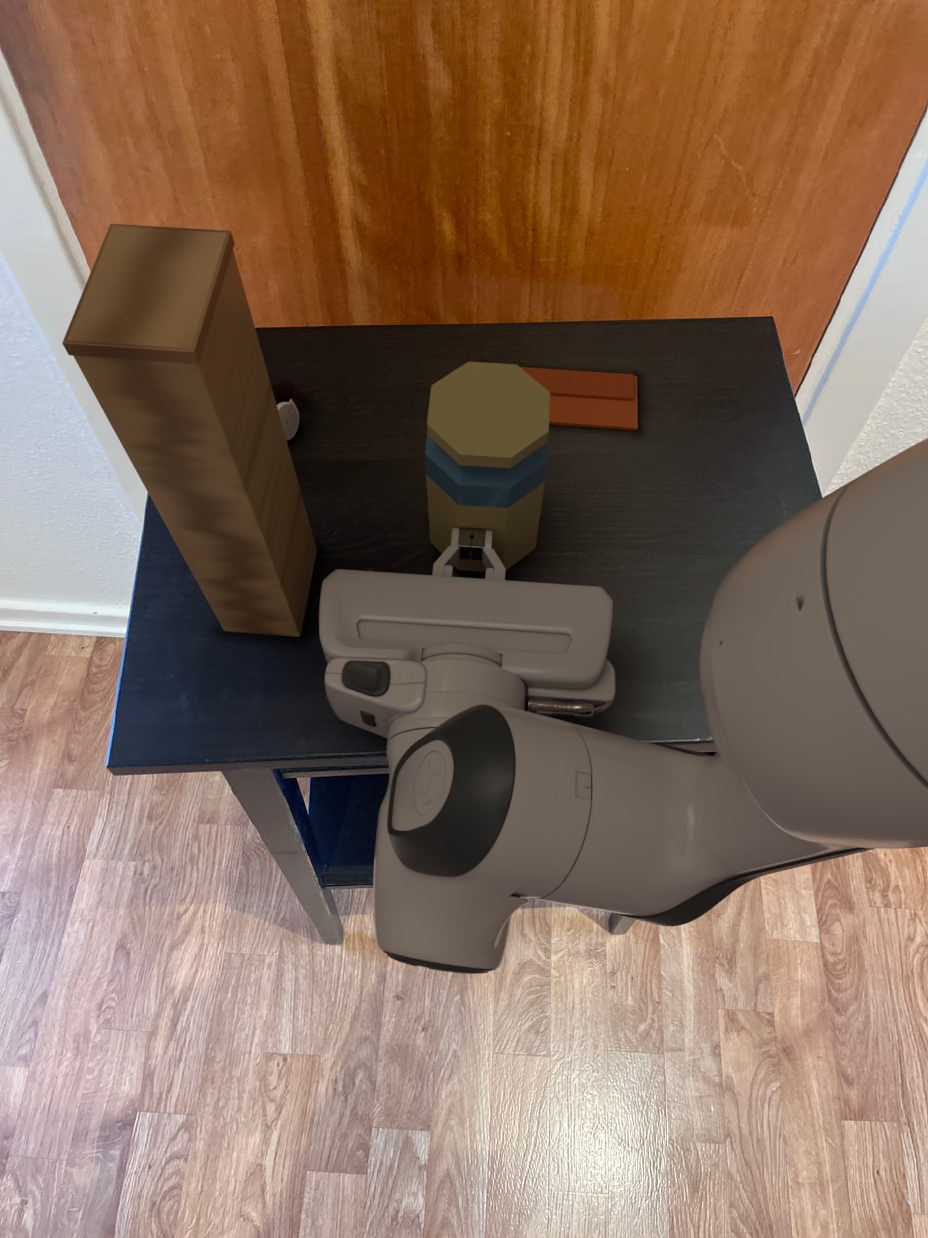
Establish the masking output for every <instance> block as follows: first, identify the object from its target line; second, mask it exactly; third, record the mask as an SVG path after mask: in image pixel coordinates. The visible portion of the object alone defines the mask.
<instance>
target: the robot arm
mask: <svg viewBox="0 0 928 1238" xmlns="http://www.w3.org/2000/svg"><path fill="white" fill-rule="evenodd" d="M492 535H493V530H486V529H473V534H472V529H466V528H453V529H452V538H451V546H448V548H447V549H446V550H445V551H444V552H443V553H441V555H439V557H438V558H437V559H436V560H435V562H433V564H432V574H417V573H405V572H404V573H402V572H389V571H374V570H373V571H372V570H359V569H345V568H336V569H334V570H333V571H332V572H331V573H329V574H328V575H327V576H326V577H325V578H324V579H323V580H322V583H321V586H320V587H321V588H320V596H319V605H318V606H319V607H318V632H319V633H318V634H319V636H318V637H319V641H320V645H321V648H322V651H323V655H324V658H325V661H326V664H327V665H326V668H325V672H324V690H325V694H326V698H327V700H328V704H329V706H330V707H331V709H332V711H333V713H334V714H335V715H336V717H337V718H338V719H339V720H340V721H343V722H344V723H347V724H349V725H351V726H354V727H357V728H359V729H362V730H364V731H367V732H369V733H372V734H375V735H377V736H379V737H382V738H385V739H387V741H386V760H387V765H388V784H387V788H386V792H385V794H384V797H383V799H382V802H381V804H380V807H379V809H378V815H377V825H376V826H377V827H376V832H375V833H376V834H375V845H374V857H373V859H374V860H373V876H372V877H373V880H372V909H373V910H372V911H373V912H372V913H373V927H374V937H375V943H376V946H377V948H378V949H379V950H380V951H382V952H383V953H384V954H385V955H386V956H387V957H388V958H390V959H392V960H394V961H396V962H399V963H402V964H405V965H408V966H412V967H422V968H427V969H429V970H433V971H439V972H446V973H454V974H463V975H465V974H466V975H479V974H487V973H489V972H493V971H495V970H497V969H499V968H500V967H501V965H502V963H503V960H504V957H505V953H506V948H507V944H508V938H509V935H510V934H509V933H510V928H511V922H512V917H513V915H514V913H516V912H517V911H518V910H519V909H521V907H523V906H525V905H527V904H529V902H530V901H529V900H535V901H541V902H548V903H552V904H553V903H554V904H559V905H565V906H571V907H576V908H581V909H587V910H588V909H589V910H595V911H602V912H607V913H613V914H616V915H619V916H623V917H625V918H628V919H633V920H637V921H641V922H645V923H649V924H654V925H656V926H661V927H677V926H678V927H679V926H683V925H687V924H689V923H691V922H693V921H695V920H697V919H698V918H700V917H702V916H704V915H705V914H706V913H708V912H709V911H711V910H712V909H713V908H715V907H716V906H717V905H719V904H720V903H721V902H722V901H723V900H725V899H726V898H727V897H728V896H730V895H731V894H732V893H733V892H735V891H736V890H738V889H739V888H741V887H742V886H744V885H745V884H747V883H750V882H751V881H754V880H757V879H759V878H762V877H765V876H767V875H770V874H771V875H772V874H776V873H780V872H784V871H787V870H792V869H797V868H801V867H804V866H810V865H813V864H817V863H821V862H827V861H831V860H834V859H839V858H842V857H848V856H851V855H855V854H859V853H864V852H869V851H873V850H877V849H883V850H885V849H886V850H887V849H888V850H889V849H890V850H891V849H893V850H895V849H898V850H899V849H919V848H928V437H926V438H923V439H922V440H920V441H918V442H917V443H915V444H913V445H911V446H909V447H907V448H906V449H904V450H903V451H900V452H899V453H897V454H895V455H894V456H892V457H890V458H888V459H887V460H885V461H883V462H881V463H880V464H878V465H876V466H874V467H873V468H871V469H869V470H867V471H866V472H864V473H862V474H861V475H858V476H857V477H856V478H854V479H852V480H850V481H849V482H847V483H845V484H843V485H842V486H839V487H838V488H837V489H835V490H834V491H832V492H830V493H828V494H827V495H825V496H823V497H820V499H817V500H816V501H814V502H813V503H811V504H810V505H808V506H805V508H803V509H801V510H800V511H798V512H796V513H795V514H794V515H792V516H790V517H789V518H787V519H785V520H784V521H783V522H781V523H779V524H778V525H777V526H776V527H774V528H773V529H771V530H770V531H769V532H768V533H767V534H765V535H764V536H763V537H761V539H760V540H758V541H756V543H755V544H754V545H752V546H751V548H750V549H748V550H747V551H746V552H745V554H744V555H742V556H741V557H740V558H739V559H738V561H737V562H736V563H735V564H734V565H733V566H732V567H731V569H729V571H728V572H727V573H726V574H725V576H724V577H723V578H722V579H721V581H720V583H719V585H718V587H717V589H716V591H715V593H714V596H713V598H712V600H711V604H710V605H709V606H710V607H709V609H708V611H707V614H706V618H705V622H704V626H703V630H702V634H701V639H700V646H699V647H700V648H699V659H698V678H699V680H698V681H699V690H700V697H701V703H702V707H703V712H704V717H705V720H706V723H707V726H708V729H709V733H710V736H711V737H712V741H713V743H714V745H715V747H716V750H717V752H718V754H717V755H710V754H707V753H704V752H701V751H697V750H692V749H687V748H682V747H678V746H672V745H666V744H661V743H660V744H656V743H651V742H647V741H644V740H640V739H637V738H632V737H628V736H624V735H620V734H617V733H612V732H608V731H604V730H601V729H596V728H592V727H588V726H584V725H580V724H577V723H574V722H573V723H572V722H569V721H566V720H563V719H562V720H561V719H559V718H555V717H556V716H568V717H572V718H576V719H589V718H593V717H594V714H597V713H601V712H603V711H605V710H607V709H608V708H609V707H610V706H611V705H612V704H613V702H615V701H614V700H615V698H616V694H617V681H616V680H617V675H616V670H615V668H614V666H613V663H611V661H610V660H609V659H608V658H607V657H608V653H609V646H610V641H611V634H612V628H613V626H612V625H613V616H614V615H613V614H614V600H613V598H612V597H611V596H610V595H609V593H608V592H607V591H606V589H604V588H603V587H601V586H597V585H596V586H594V585H582V584H581V585H580V584H569V583H568V584H567V583H552V582H539V581H521V580H508V579H506V571H507V570H506V569H505V567H504V565H503V564H502V562H501V561H500V559H499V557H498V556H497V554H496V552H495V551H494V549H492ZM460 559H468V560H480V561H482V562H483V564H484V566H485V568H486V572H485V577H484V578H477V577H463V576H462V577H461V576H454V570H453V569H454V568H455V565H456V564H457V563H458V561H459V560H460ZM505 570H506V571H505ZM594 705H596V706H594ZM552 716H555V717H552ZM528 899H529V900H528Z"/></svg>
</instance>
